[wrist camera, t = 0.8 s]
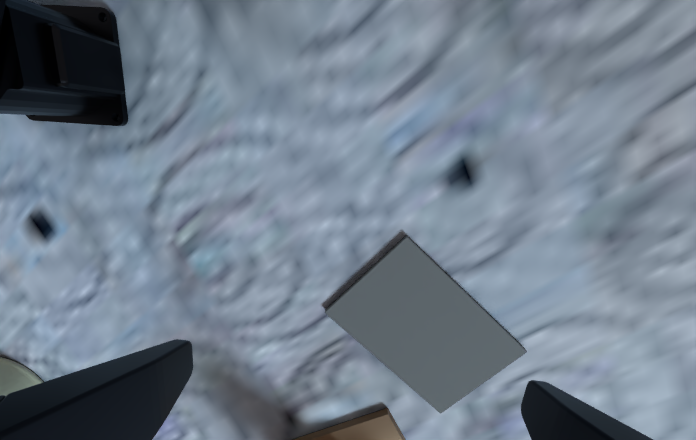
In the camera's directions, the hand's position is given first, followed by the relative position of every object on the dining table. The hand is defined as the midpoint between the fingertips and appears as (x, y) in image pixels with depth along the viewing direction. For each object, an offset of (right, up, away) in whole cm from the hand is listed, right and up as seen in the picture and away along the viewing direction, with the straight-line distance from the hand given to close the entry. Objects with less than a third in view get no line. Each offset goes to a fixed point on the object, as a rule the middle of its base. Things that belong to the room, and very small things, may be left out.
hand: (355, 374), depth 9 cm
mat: (+5, -4, +15) cm, 16 cm away
